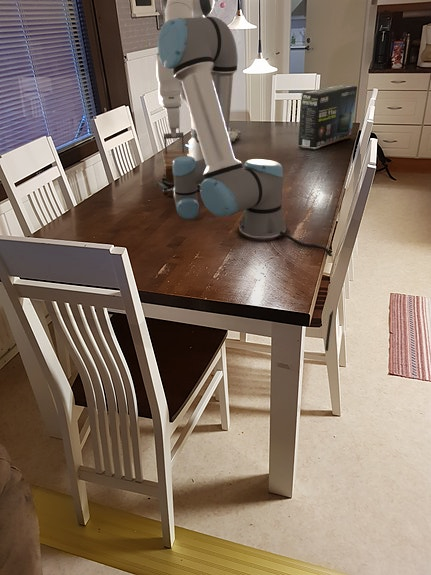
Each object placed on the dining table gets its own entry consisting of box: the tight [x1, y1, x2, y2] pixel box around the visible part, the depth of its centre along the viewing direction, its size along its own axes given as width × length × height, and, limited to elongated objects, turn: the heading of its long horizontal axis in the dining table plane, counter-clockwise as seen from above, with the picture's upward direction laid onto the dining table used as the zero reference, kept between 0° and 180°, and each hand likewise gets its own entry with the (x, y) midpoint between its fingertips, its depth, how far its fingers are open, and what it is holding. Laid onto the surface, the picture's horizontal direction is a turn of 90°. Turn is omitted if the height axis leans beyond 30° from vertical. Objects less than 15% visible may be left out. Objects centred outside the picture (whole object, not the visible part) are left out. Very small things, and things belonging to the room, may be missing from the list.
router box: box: [297, 84, 358, 151], centre depth 238 cm, size 36×11×27 cm, turn 134°
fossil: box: [228, 127, 242, 144], centre depth 256 cm, size 18×11×15 cm
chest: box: [162, 159, 174, 197], centre depth 186 cm, size 15×10×11 cm, turn 9°
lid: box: [161, 131, 189, 169], centre depth 180 cm, size 16×10×9 cm, turn 9°
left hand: (173, 135), depth 182 cm, fingers closed on lid, 2 cm apart
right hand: (178, 176), depth 182 cm, fingers closed on chest, 10 cm apart
